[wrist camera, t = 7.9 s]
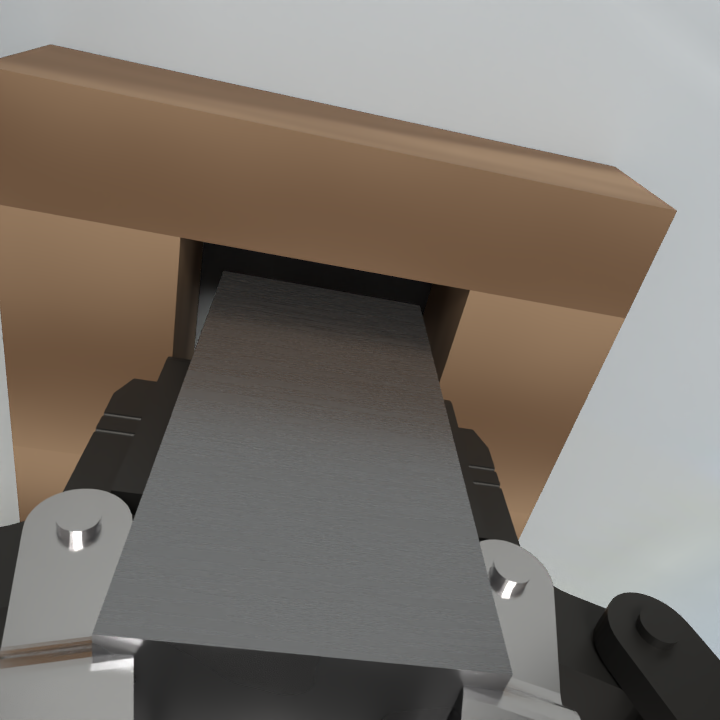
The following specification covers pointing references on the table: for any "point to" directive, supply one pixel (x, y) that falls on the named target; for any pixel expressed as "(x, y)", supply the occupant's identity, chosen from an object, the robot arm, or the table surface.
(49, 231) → the bore block
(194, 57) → the table surface
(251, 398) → the square bit
